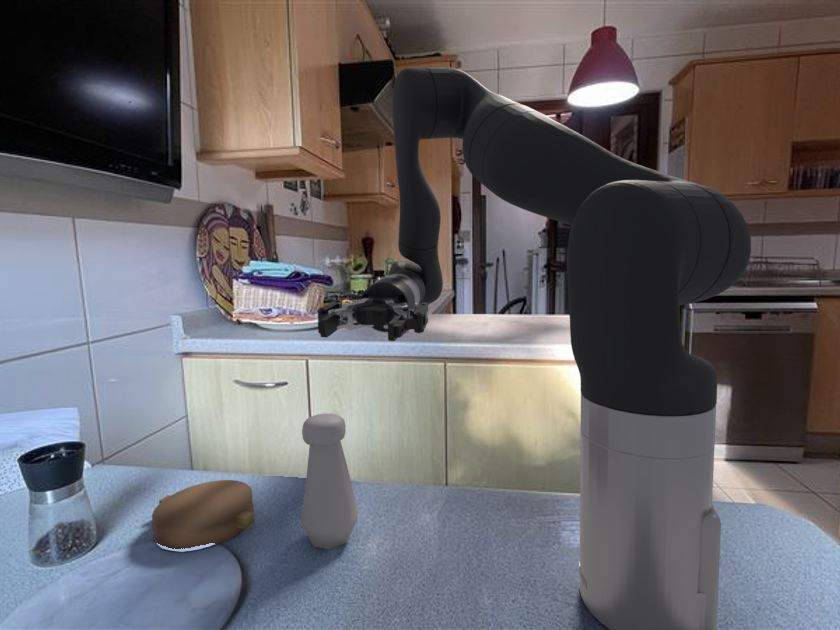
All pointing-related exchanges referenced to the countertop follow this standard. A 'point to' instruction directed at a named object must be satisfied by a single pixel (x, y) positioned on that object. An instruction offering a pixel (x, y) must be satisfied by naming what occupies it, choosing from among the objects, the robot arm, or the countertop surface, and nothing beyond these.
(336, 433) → the salt shaker
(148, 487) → the countertop surface
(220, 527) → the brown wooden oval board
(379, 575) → the countertop surface
